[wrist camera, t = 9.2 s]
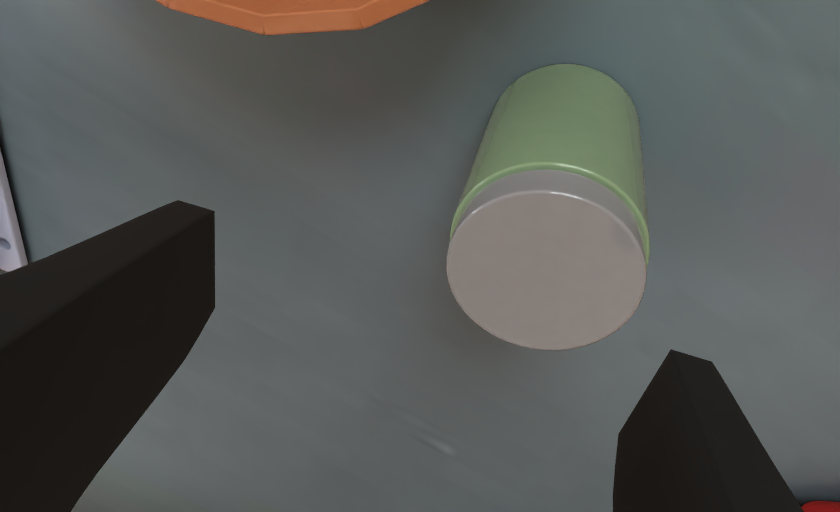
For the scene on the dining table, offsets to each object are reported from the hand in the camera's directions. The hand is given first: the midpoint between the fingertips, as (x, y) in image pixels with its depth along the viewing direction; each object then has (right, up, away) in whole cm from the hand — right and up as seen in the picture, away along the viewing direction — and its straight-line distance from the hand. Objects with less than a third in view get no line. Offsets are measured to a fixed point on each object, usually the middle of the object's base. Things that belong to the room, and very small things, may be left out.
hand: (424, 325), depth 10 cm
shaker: (+4, +4, +7) cm, 9 cm away
